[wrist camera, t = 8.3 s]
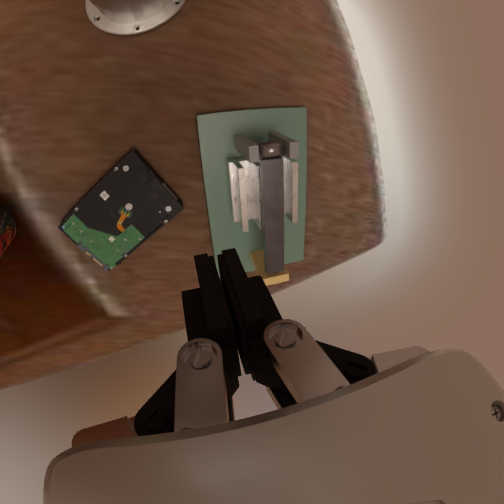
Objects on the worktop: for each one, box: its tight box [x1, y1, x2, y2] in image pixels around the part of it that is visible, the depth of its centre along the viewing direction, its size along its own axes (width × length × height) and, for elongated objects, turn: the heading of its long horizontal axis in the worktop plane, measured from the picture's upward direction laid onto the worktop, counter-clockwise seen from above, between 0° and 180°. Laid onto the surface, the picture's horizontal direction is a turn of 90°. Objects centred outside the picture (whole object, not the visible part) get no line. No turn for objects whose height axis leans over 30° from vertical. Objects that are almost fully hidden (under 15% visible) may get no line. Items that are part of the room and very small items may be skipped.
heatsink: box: [226, 155, 298, 232], centre depth 36 cm, size 8×8×5 cm
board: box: [196, 107, 307, 286], centre depth 37 cm, size 24×14×8 cm, turn 3°
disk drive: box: [58, 148, 183, 271], centre depth 35 cm, size 10×3×15 cm
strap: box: [257, 140, 285, 275], centre depth 34 cm, size 17×3×2 cm, turn 3°
